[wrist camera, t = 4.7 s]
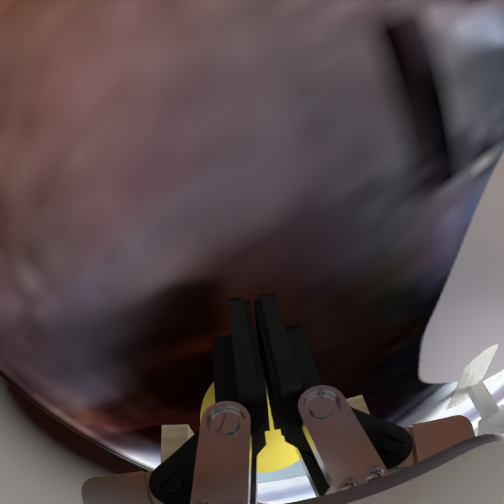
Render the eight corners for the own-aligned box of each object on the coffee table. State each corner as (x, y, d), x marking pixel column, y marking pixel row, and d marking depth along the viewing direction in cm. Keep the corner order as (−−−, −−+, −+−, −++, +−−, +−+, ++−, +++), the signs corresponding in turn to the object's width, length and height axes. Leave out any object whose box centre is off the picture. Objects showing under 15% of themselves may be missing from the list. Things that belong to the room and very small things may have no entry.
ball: (208, 499, 10) (211, 434, 16) (335, 482, 10) (305, 422, 16) (184, 400, 10) (197, 349, 16) (342, 381, 10) (303, 338, 16)
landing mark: (207, 461, 23) (207, 463, 23) (327, 443, 24) (328, 444, 24) (226, 485, 30) (226, 486, 30) (315, 471, 30) (316, 472, 30)
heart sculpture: (468, 357, 20) (545, 501, 5) (503, 332, 20) (582, 461, 5) (443, 414, 29) (488, 515, 13) (471, 396, 28) (518, 491, 13)
